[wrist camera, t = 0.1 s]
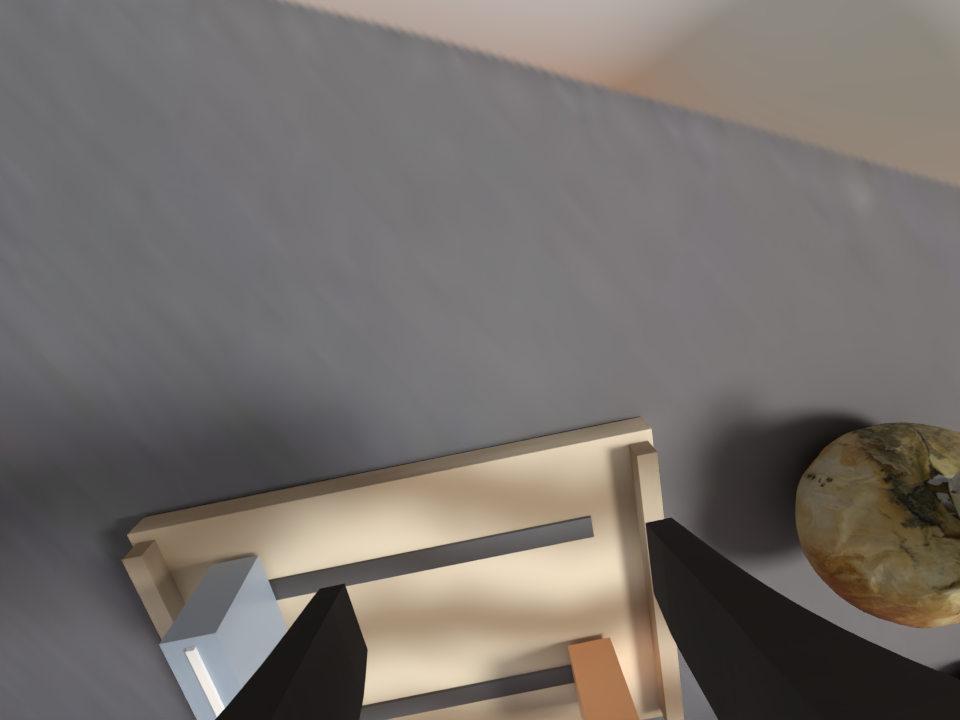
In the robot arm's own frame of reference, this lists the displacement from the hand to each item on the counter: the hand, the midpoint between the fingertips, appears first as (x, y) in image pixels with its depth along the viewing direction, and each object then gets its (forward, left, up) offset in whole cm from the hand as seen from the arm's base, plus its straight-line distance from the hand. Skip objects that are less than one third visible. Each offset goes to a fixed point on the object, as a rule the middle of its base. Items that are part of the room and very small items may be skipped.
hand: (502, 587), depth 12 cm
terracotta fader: (-14, -3, -9) cm, 16 cm away
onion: (-7, -16, -10) cm, 20 cm away
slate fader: (-6, +11, -8) cm, 15 cm away
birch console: (-10, +4, -10) cm, 14 cm away
